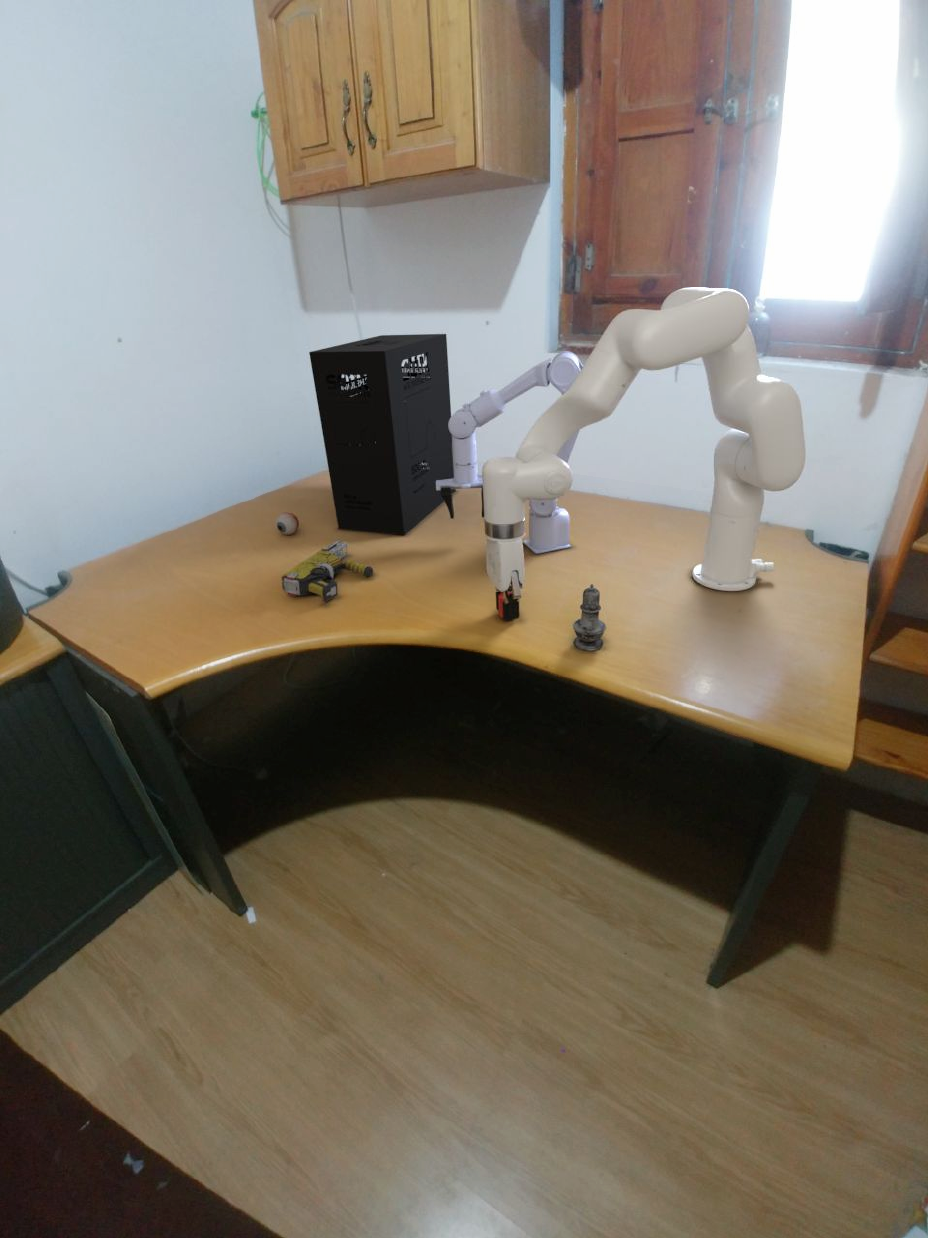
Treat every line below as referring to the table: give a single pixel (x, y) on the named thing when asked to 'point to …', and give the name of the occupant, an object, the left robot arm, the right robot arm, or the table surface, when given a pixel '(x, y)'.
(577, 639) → the grey tiered stone figure
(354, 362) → the cardboard box
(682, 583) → the table surface
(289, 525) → the eyeball
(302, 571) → the toy gun
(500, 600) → the canister
